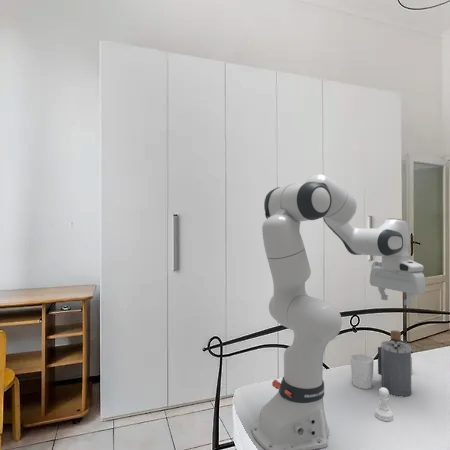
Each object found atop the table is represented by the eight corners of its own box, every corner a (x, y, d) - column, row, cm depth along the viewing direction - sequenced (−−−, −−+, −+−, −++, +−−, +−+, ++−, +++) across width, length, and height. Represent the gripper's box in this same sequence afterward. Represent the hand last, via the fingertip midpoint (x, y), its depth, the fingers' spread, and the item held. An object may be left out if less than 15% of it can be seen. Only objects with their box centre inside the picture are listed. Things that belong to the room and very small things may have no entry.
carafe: (398, 399, 112) (398, 352, 112) (370, 383, 123) (370, 341, 123) (417, 393, 116) (417, 347, 116) (388, 378, 127) (388, 337, 127)
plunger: (397, 389, 114) (397, 336, 114) (381, 380, 120) (380, 330, 120) (411, 385, 117) (410, 333, 117) (394, 377, 123) (394, 327, 123)
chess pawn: (375, 410, 105) (375, 382, 105) (392, 414, 103) (392, 385, 103) (375, 419, 101) (374, 389, 101) (393, 423, 99) (393, 393, 99)
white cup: (376, 391, 118) (375, 363, 118) (352, 389, 119) (352, 361, 119) (371, 380, 126) (370, 354, 126) (349, 379, 127) (348, 353, 127)
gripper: (365, 261, 127) (365, 297, 127) (415, 267, 108) (415, 309, 108) (377, 260, 129) (377, 296, 129) (428, 266, 111) (428, 307, 111)
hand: (395, 302), depth 118 cm, fingers open, 8 cm apart
